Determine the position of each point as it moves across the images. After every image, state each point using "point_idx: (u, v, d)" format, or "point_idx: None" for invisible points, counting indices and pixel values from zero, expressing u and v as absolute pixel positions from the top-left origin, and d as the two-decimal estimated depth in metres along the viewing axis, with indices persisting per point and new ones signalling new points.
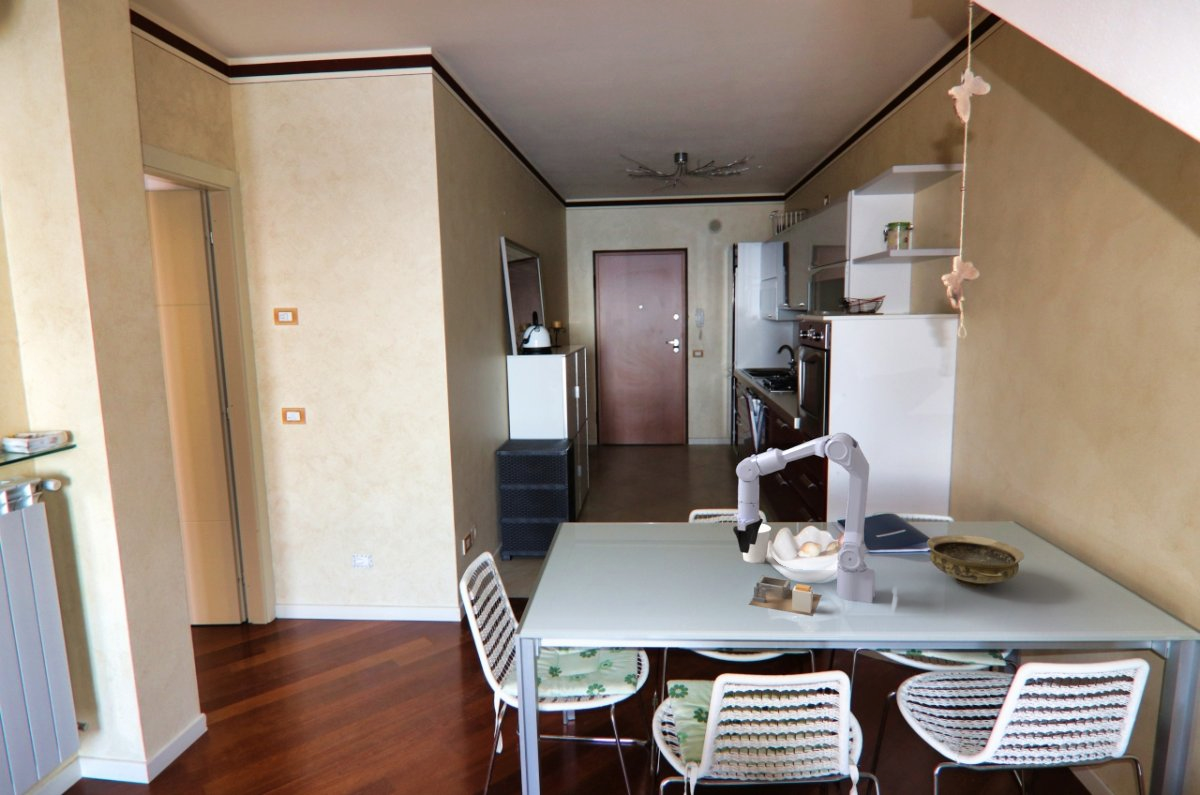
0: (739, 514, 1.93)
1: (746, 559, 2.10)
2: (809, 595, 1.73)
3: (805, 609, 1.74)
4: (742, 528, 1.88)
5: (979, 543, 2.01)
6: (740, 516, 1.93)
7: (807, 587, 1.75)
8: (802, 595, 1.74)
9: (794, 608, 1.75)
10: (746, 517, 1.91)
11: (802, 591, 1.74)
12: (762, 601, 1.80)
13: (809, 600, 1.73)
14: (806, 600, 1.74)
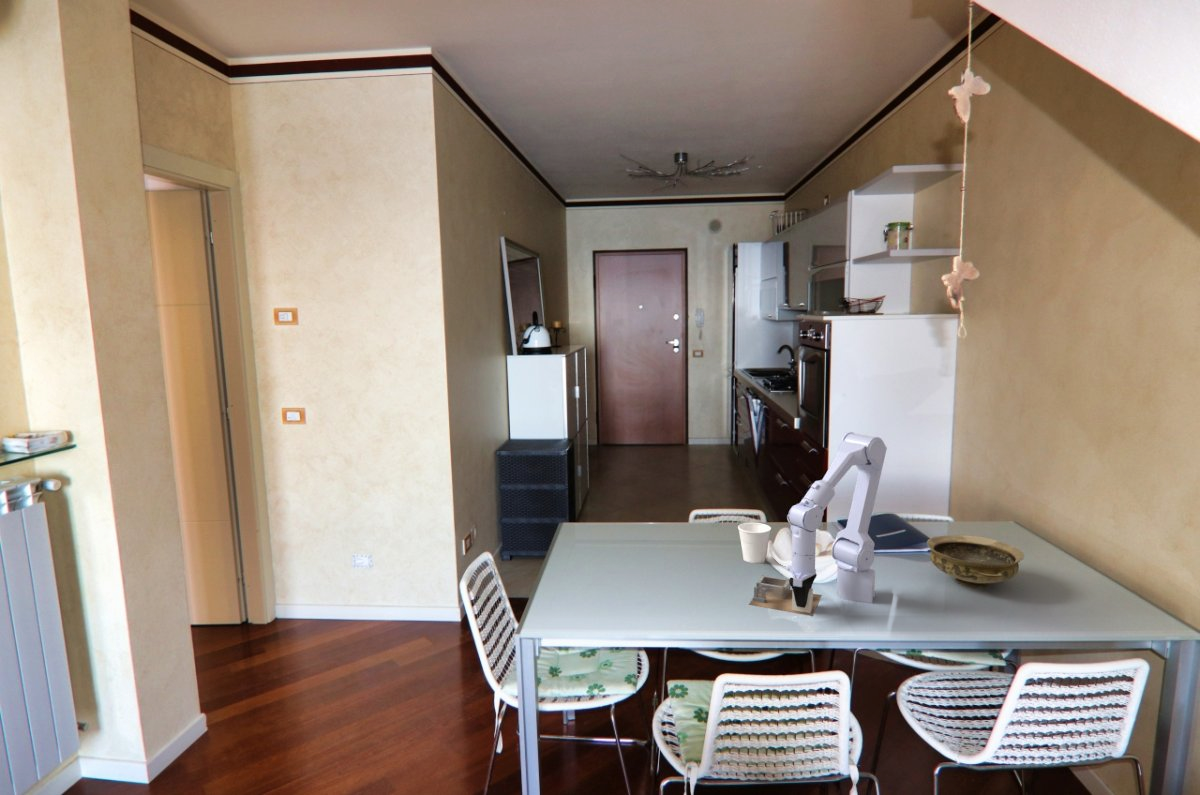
0: (793, 567, 1.74)
1: (746, 559, 2.10)
2: (809, 595, 1.73)
3: (805, 609, 1.74)
4: (798, 584, 1.68)
5: (979, 543, 2.01)
6: (794, 569, 1.73)
7: None
8: None
9: (794, 608, 1.75)
10: (801, 571, 1.72)
11: None
12: (762, 601, 1.80)
13: (809, 600, 1.73)
14: None
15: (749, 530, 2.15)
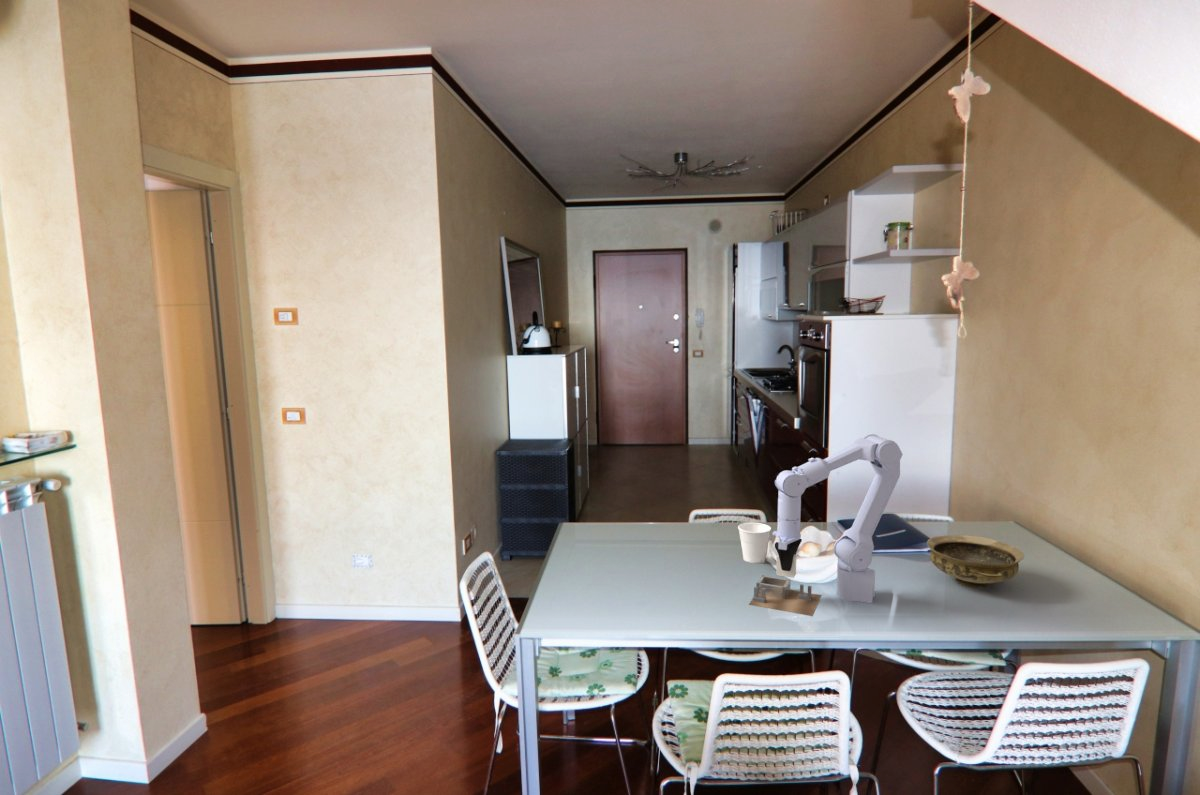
0: (779, 532, 1.79)
1: (746, 559, 2.10)
2: None
3: (789, 574, 1.80)
4: (783, 547, 1.74)
5: (979, 543, 2.01)
6: (780, 534, 1.79)
7: None
8: None
9: (778, 573, 1.81)
10: (787, 535, 1.77)
11: None
12: (762, 601, 1.80)
13: (792, 565, 1.79)
14: None
15: (749, 530, 2.15)
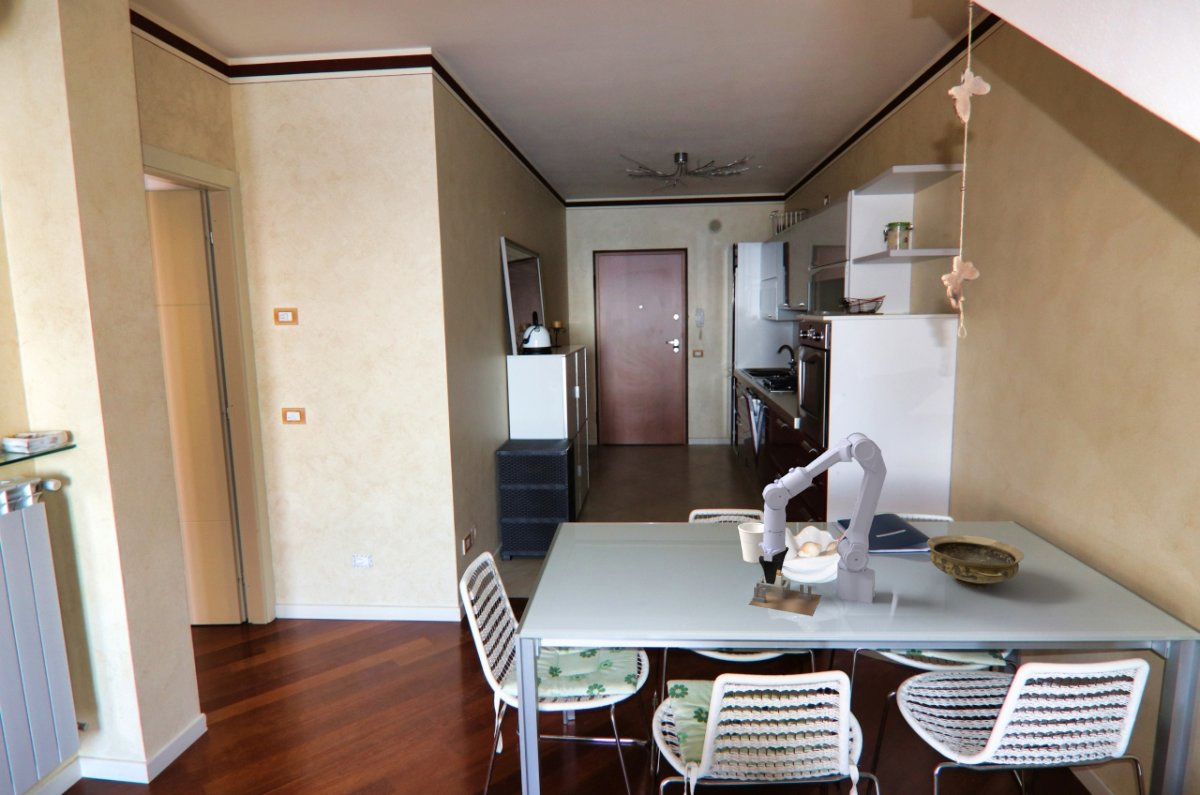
0: (765, 543, 1.84)
1: (746, 559, 2.10)
2: (779, 579, 1.84)
3: None
4: (769, 559, 1.79)
5: (979, 543, 2.01)
6: (766, 545, 1.84)
7: (777, 571, 1.85)
8: None
9: None
10: (772, 546, 1.82)
11: None
12: (762, 601, 1.80)
13: (779, 583, 1.84)
14: (776, 584, 1.85)
15: (749, 530, 2.15)
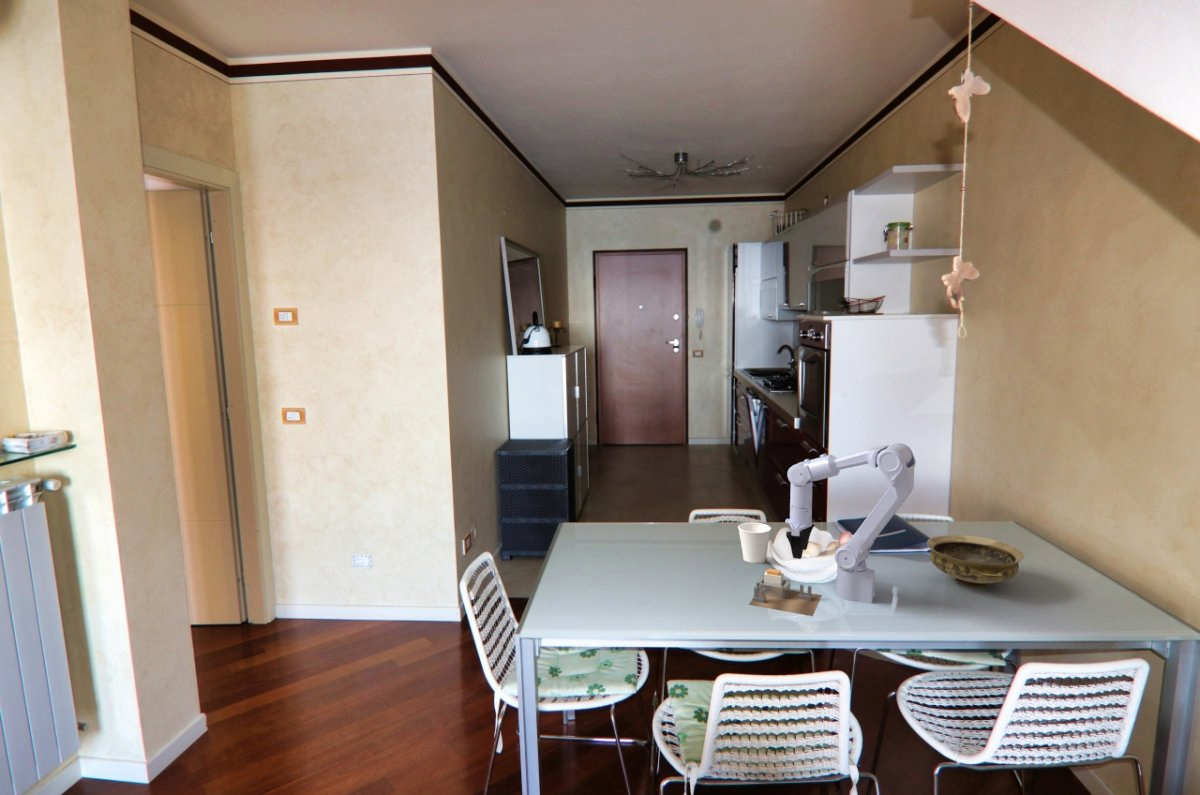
0: (791, 519, 1.90)
1: (746, 559, 2.10)
2: (779, 579, 1.84)
3: None
4: (796, 534, 1.84)
5: (979, 543, 2.01)
6: (793, 521, 1.89)
7: (777, 571, 1.85)
8: (773, 578, 1.85)
9: None
10: (799, 522, 1.88)
11: (773, 575, 1.85)
12: (762, 601, 1.80)
13: (779, 583, 1.84)
14: (776, 584, 1.85)
15: (749, 530, 2.15)
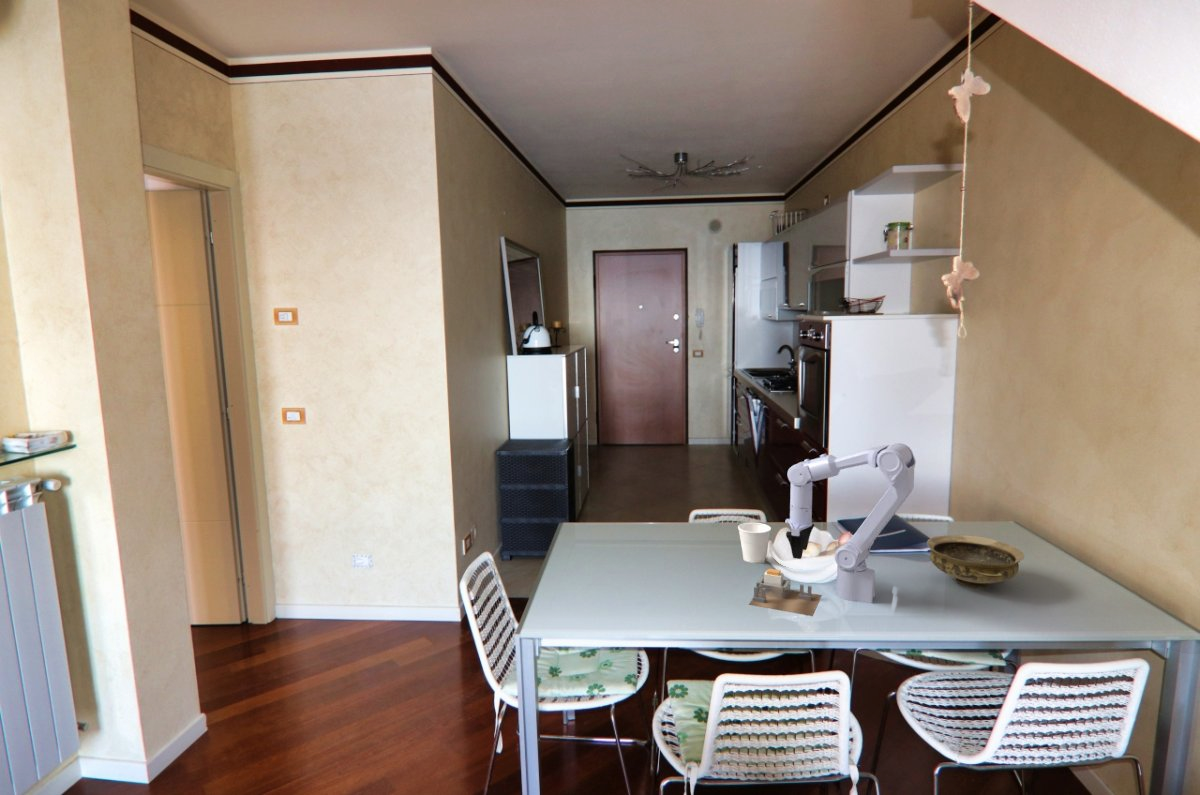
0: (791, 519, 1.90)
1: (746, 559, 2.10)
2: (779, 579, 1.84)
3: None
4: (796, 534, 1.84)
5: (979, 543, 2.01)
6: (793, 521, 1.89)
7: (777, 571, 1.85)
8: (773, 578, 1.85)
9: None
10: (799, 522, 1.88)
11: (773, 575, 1.85)
12: (762, 601, 1.80)
13: (779, 583, 1.84)
14: (776, 584, 1.85)
15: (749, 530, 2.15)
